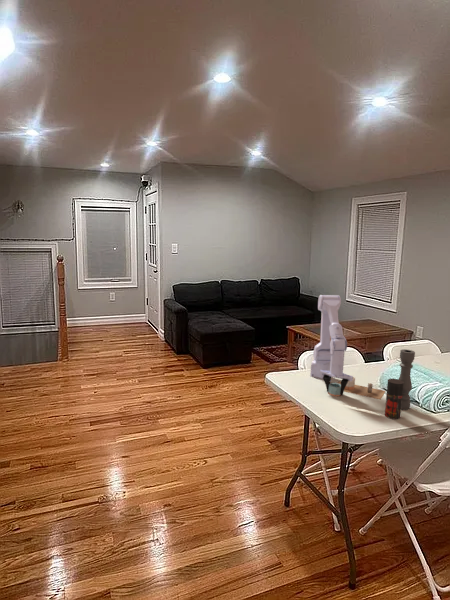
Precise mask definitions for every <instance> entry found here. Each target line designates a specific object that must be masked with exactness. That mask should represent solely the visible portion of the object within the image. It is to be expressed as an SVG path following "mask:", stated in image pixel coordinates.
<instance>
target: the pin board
mask: <svg viewBox="0 0 450 600" xmlns="http://www.w3.org/2000/svg"><path fill="white" fill-rule="evenodd" d="M337 383H338V384H341V380H340V381H338V382H337ZM344 392H345V393H350V394H353V395H359V396H362V397H367V398H370V399H371V398H372V399H376V400H382V398H383V397H384V394H385V393H386V390H383V389H377V388H373V383H367V386H363V385H359V384H355V388H354V389H353V390H347V389H344ZM344 392H343V393H344Z"/></svg>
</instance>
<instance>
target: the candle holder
mask: <svg viewBox="0 0 450 600" xmlns="http://www.w3.org/2000/svg"><path fill="white" fill-rule="evenodd" d="M415 357H416V352H415V350H412V349H400V353H399V360H400V362H401V363H399V366H400V375H399V377H398V378H397V379H398V380H401V381H403V382H404V384H403V394H402V404H401V411H409V410H410V409H411V403H412V402H411V401H412V400H411V396H410V392H411V391H412V388H413V385H412V378H411V371H412V369H413V368H414V365H413V363H414V360H415Z"/></svg>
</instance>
